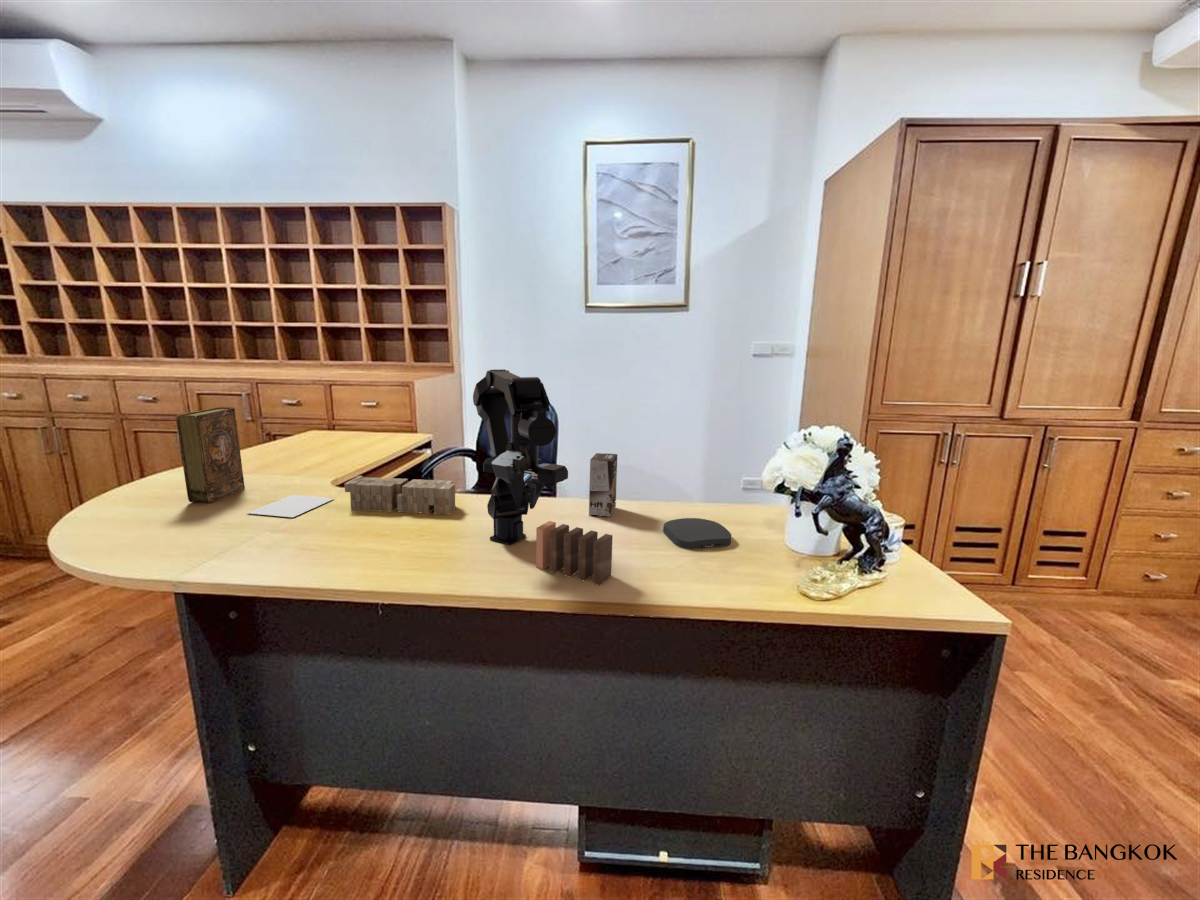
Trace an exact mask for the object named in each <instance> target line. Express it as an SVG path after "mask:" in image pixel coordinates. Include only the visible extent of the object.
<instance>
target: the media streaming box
mask: <svg viewBox="0 0 1200 900" xmlns="http://www.w3.org/2000/svg"><path fill="white" fill-rule="evenodd" d="M662 527H663V528H662V529H663V531H662V533H663V532H664V533H663V534H664V535H665V536H666V537H667V538H668V539H669V541H671V542H672V543H673V544H674V545H675V546H677V547H678V548H681V549H684V550H685V549H686V550H704V549H713V548H714V549H715V548H716V549H717V548H724V547H728V546H730V545H731V542H732V533H731V532H730V531H729V530H728V529H727V528H726V527H725V526H724V525H722V524H720V523H719V522H716V521H715V520H711V519H710V520H709V519H704V518H698V517H697V518H696V517H686V518H685V517H684V518H675V519H670V520H668V521H666V522H664V523H663V526H662Z"/></svg>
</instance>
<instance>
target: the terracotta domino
mask: <svg viewBox="0 0 1200 900" xmlns="http://www.w3.org/2000/svg"><path fill="white" fill-rule="evenodd" d="M556 527H557V523H556V522H555V521H551V520H549V521H546V522H545V523H543V524H541V525H539V526H538V527H536V530H535V531H536V533H535V534H536V536H535V537H536V538H535V539H536V540H535V541H536V542H535V543H536V546H535V547H536V549H535V551H536V553H535V554H536V557H535V558H536V563H535V564H536V566H535V567H536V569H537V568H538V569H541V570H544V569H546V568H547V567H548V566H550V531H551V530H553V529H555V528H556Z"/></svg>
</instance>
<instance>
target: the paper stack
mask: <svg viewBox="0 0 1200 900" xmlns="http://www.w3.org/2000/svg"><path fill="white" fill-rule="evenodd" d="M335 499H336V498H334V497H323V496H322V497H321V496H313V495H312V496H309V495H299V494H291V495H289V496H286V497H283V498H281V499H278V500H276V501H273V502H270V503H269V504H266V505H263V506H261V507H259V508H256V509H253V510H251V511H250V510H249V511H247V514H250V515H261V516H262V515H263V516H271V517H272V516H275V517H283V518H295V517H298V516H299V515H303V514H304V513H306V512H308V511H311V510H312V509H315V508H317V507H319V506H322V505H323V504H326V503H328V502H330V501H332V500H335Z"/></svg>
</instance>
